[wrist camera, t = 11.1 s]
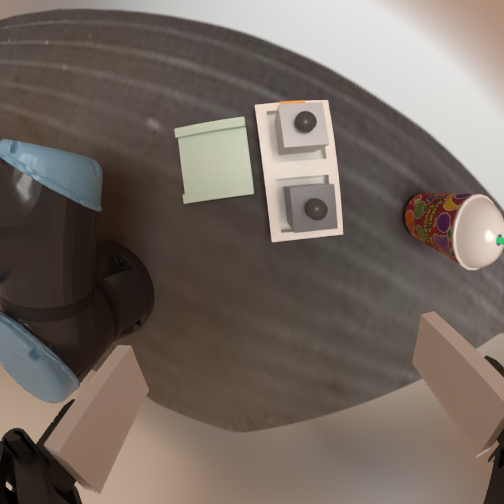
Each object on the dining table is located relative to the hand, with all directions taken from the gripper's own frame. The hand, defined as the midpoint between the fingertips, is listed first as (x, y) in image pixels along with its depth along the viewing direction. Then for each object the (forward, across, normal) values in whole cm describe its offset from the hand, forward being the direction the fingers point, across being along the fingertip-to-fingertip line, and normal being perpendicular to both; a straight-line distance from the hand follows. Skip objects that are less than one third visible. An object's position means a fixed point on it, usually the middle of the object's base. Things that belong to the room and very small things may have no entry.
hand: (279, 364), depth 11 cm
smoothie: (+27, +23, +1) cm, 35 cm away
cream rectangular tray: (+27, +5, +8) cm, 28 cm away
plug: (+26, +5, +13) cm, 29 cm away
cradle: (+27, -6, +11) cm, 29 cm away
